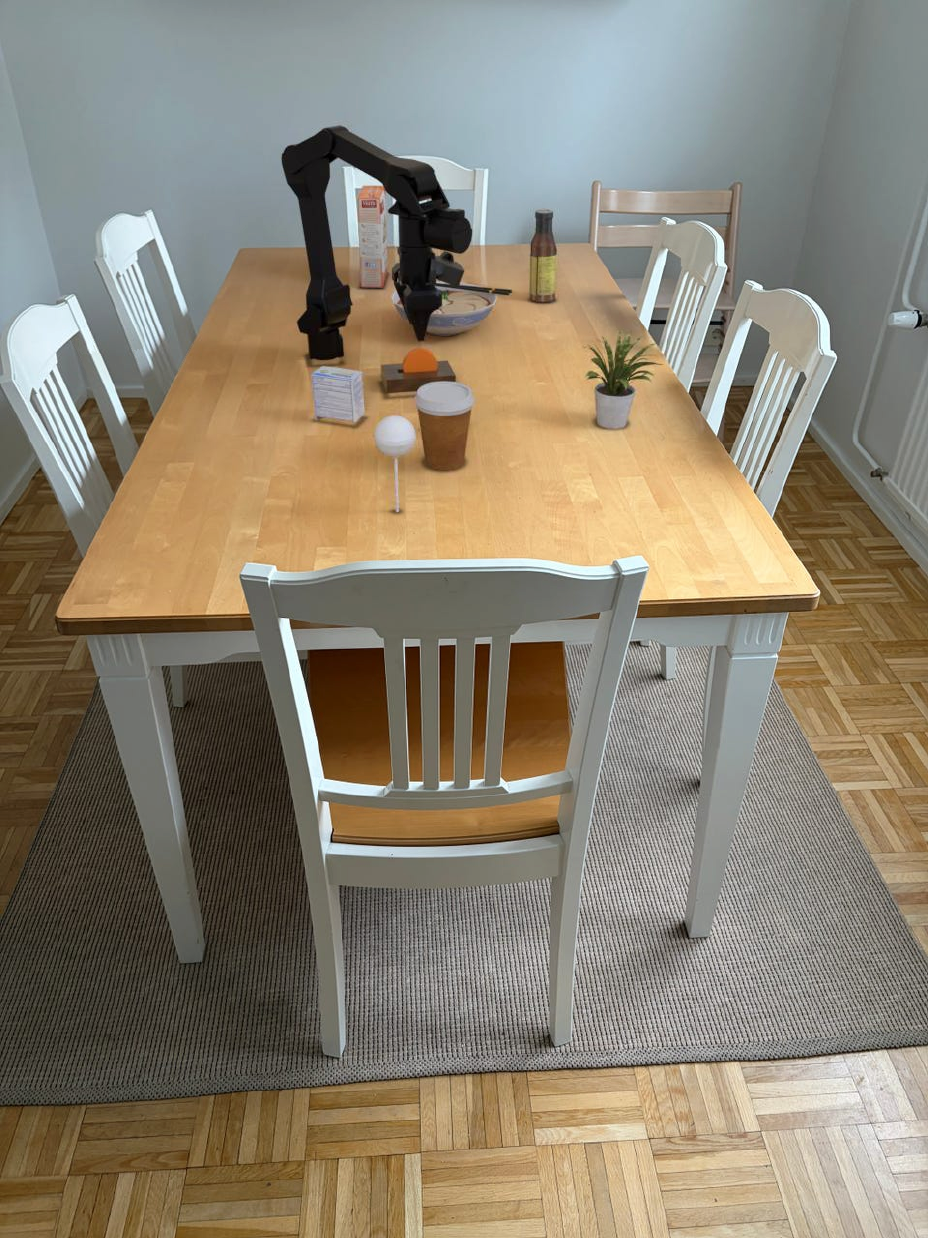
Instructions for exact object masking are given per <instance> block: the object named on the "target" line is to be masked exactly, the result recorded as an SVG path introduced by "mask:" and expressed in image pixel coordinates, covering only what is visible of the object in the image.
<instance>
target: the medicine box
mask: <svg viewBox="0 0 928 1238" xmlns="http://www.w3.org/2000/svg"><path fill="white" fill-rule="evenodd" d="M310 378H311V388H312V390H311V391H312V400H313V409H314V420H315V421H319V419H318V417H319V418H320V417H321V418H326V419H332V420H339V421H346V422H352V423H356V422H357V421H358V420H360V419H361V417H363V416H364V415H365V413H366V411H365V397H364V396H365V395H364V382H363V380H364V379H363V371H361V370H355V369H348V368H342V367H335V366H325V365H322V366H320V367H319V368H317V369H316V370H314V371H313V372H312V373H311V375H310Z"/></svg>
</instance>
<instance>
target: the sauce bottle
mask: <svg viewBox="0 0 928 1238" xmlns="http://www.w3.org/2000/svg"><path fill="white" fill-rule="evenodd" d="M534 217H535V229H534V230H535V233H534V235H533V237H532V238H531V241H530V248H529V249H530V254H529V290H528V291H529V298H530V301H533V302H536V303H541V304H543V303H544V304H545V303H550V302H553V301H554V300H555V298H556V293H557V262H558V261H557V259H558V256H557V255H558V248H557V245H556V242H555V237H554V233H553V218H554V211H553V210H552V209H548V208H543V209H541V208H540V209H536V210H535V213H534Z"/></svg>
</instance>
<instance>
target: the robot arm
mask: <svg viewBox="0 0 928 1238" xmlns="http://www.w3.org/2000/svg"><path fill="white" fill-rule="evenodd" d="M280 158H281V166H282V169H283V173H284V176H285V181H286V183H287V186H288V187H289V188H290V189H291V191H292V192H293V193H294V195H295V196H296V197H297V201H298V202H297V203H298V208H299V213H300V219H301V225H302V226H301V227H302V233H303V239H304V245H305V250H306V251H305V252H306V257H307V262H308V267H309V268H308V269H309V275H310V282H309V283H308V287H307V290H306V294H305V306H306V307H305V309H306V310H305V311H304V312H303V313H302V315H301V316H300V317H299V318H298V319H297V320H296V324H297V328H298V330H299V333H301V334H304V335H306V336H307V337H306V338H307V348H308V349H307V350H308V357H309V359H310V360H317V361H331V360H335V359H338V358H341V357H345V350H344V338H343V334H342V333H341V331H340V328H343V327H346V326H347V322H348V317H349V316H350V315H351V312H352V306H353V305H354V304H353V301H352V298H351V288H350V285H349V284H347V283H346V284H344V283H343V282H342V281H341V279H340V278H339V276H338V274H337V268H336V262H335V255H334V248H333V242H332V235H331V228H330V222H329V221H330V220H329V216H328V215H329V214H328V208H327V202H326V193H327V189H328V187H329V182H330V179H331V164H332V163H333V162H335V161H336V160H337V159H339V160H341V161H343V162H345V163H346V164H348V165H350V166H352V167H354V168H355V169H357V170H359V171H361V172H362V173H364V174H366V175H368V176H369V177H372V178H373V179H375V180H376V181H378V182H379V183H380V184H381V186H383V187H384V189H385V193H387V194H388V195H389V196H390V197H391V198H392V199H394V200H395V202H394V203H393V204H392V205H391V207H389V208H388V209H387V213H388V214H389V215H395V216H398V218H397V219H398V220H397V221H398V222H397V223H398V246H396V249H397V250H396V252H397V255H398V259H399V260H398V262H396V263H395V264H394V265H393V267H392V268H391V280H392V281H393V286H394V288H395V291H397V293H398V296H399V298H400V301H401V303H402V306H403V308H404V311H405V313H406V316H407V318H408V321H409V323H410V324H411V325H410V324H409V323H408V324H409V325H410V326H412V330H413V332H414V334H415V336H416V337H415V338H416V339H417V341H418V342H425V338H426V334H427V332H426V331H427V327H428V323H429V319H430V316H431V314H432V313H433V312H434V311H435V310H438V309H439V308H440V307H441V306H442V294H441V293H440V291H439V290H438V289H437V288H436V287H435V286H434V285H427V283H429V284H434V283H436V282H437V281H438V282H445V283H448V284H451V285H452V286H454V287H459V285H460V283H462V280H463V277H464V273H465V271H466V270H465V268H464V267H463V266H462V265H461V264H460V263H459V262H457V261H455V259H454V255H453V254H458V255H462V254H464V253H465V252H466V251H468V249H469V247H470V245H471V242H472V238H473V228H472V226H471V223H470V220H469V219H468V218H466V211H465V209H461V208H450V207H451V204H450V203H449V200H448V198H447V195H446V194H445V193H444V190H443V188H442V186H441V185H440V183H439V180H438V179H437V176H436V171H435V169H434V168H433V166H431V165H430V164H429V163H427V162H423V161H419V160H416V159H414V158H405V157H399V156H397V155H396V156H395V155H393V154H391V153H390V152H388V151H386V150H384V149H382V148H380V147H378V146H377V145H375V144H373V143H371V142H370V141H368V140H366V139H364V138H363V137H360V136H358V135H357V134H355V133H353V132H351V131H350V130H349V129H348V128H347V127H345V126H344V125H340V124H339V125H334V126H327V127H324V128H321V130H319V131H318V132H317V133H315V134H314V135H312V136H310V137H308V138H307V139H304V140H303V141H300V142H299V143H294V144H290V145H287V146H286V147H285V148H284V149H283V152H282V153H281V157H280ZM426 200H427V201H426ZM423 201H425V202H423ZM433 249H435V250H438V251H439V250H440V251H443V252H442V253H441V254H440V255H437V254H436V253H435V252H434V251H433Z"/></svg>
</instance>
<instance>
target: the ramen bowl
mask: <svg viewBox="0 0 928 1238" xmlns="http://www.w3.org/2000/svg"><path fill="white" fill-rule="evenodd" d="M427 285H434V286H435V287H436V288H437V289H438V290H439V291H440V293H441V294H442V306H441V307H440V308H439V309H438V310H435V311H434V312H433V313H432V314H431V316H430V319H429V323H428V327H427V331H426V333H429V334H430V335H433V336H439V337H452V336H456V335H458V334H460V333H463V332H466V331H469V330H472V329H474V328H475V327H477V326H479V325H480V324H482V323H483V322H484V321H485V320H486V318H487V317H488V316H489V315H490V313H491V312H492V309H493V308H494V306H495V304H496V301H497V300H498V296H497V295H500V296H510V294H512V293H513V290H512V289H507V288H499V287H498V288H496V287H495V288H494V287H486V286H482V285H477V284H472V283H468V282H460V285H459V287H454V286H452V285H451V284H448V283H445V282H442V281H436V283H434V284H429V283H427ZM390 298H391V300H392V303H393V304H394V307H395V309H396V311H397V313H398V314H399V315H400V316H401V318H402V319H403V320H404V321H405V322H406V323H407V324H409V325H410V326H412V325H411V324H410V323H409V321H408V318H407V316H406V313H405V311H404V308H403V306H402V303H401V301H400V298H399V296H398V293H397V291H396V290H394V292H393V293H392V294H391V295H390Z"/></svg>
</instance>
